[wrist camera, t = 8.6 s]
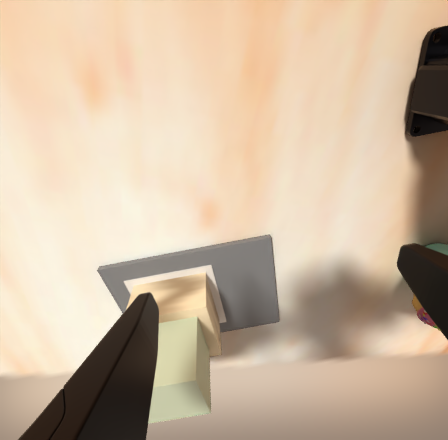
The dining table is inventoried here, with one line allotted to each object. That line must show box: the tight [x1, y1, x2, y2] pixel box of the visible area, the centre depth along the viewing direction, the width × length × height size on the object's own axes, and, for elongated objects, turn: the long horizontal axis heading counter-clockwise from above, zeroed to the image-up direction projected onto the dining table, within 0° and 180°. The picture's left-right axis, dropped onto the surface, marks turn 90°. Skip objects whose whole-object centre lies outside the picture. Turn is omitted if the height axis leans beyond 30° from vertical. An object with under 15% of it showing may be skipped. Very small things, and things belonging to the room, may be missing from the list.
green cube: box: [148, 317, 211, 424], centre depth 20 cm, size 5×5×5 cm
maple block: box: [126, 272, 222, 357], centre depth 24 cm, size 7×7×4 cm
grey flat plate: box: [97, 235, 279, 332], centre depth 26 cm, size 16×12×1 cm
